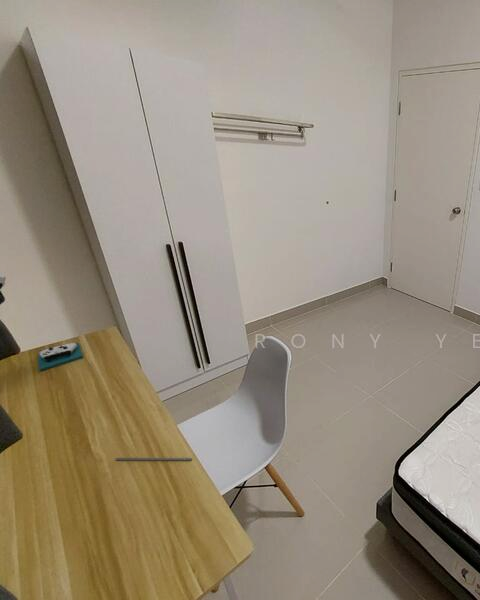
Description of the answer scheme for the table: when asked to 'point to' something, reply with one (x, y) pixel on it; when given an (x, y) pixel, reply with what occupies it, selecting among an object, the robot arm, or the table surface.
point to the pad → (60, 359)
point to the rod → (153, 459)
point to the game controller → (58, 351)
